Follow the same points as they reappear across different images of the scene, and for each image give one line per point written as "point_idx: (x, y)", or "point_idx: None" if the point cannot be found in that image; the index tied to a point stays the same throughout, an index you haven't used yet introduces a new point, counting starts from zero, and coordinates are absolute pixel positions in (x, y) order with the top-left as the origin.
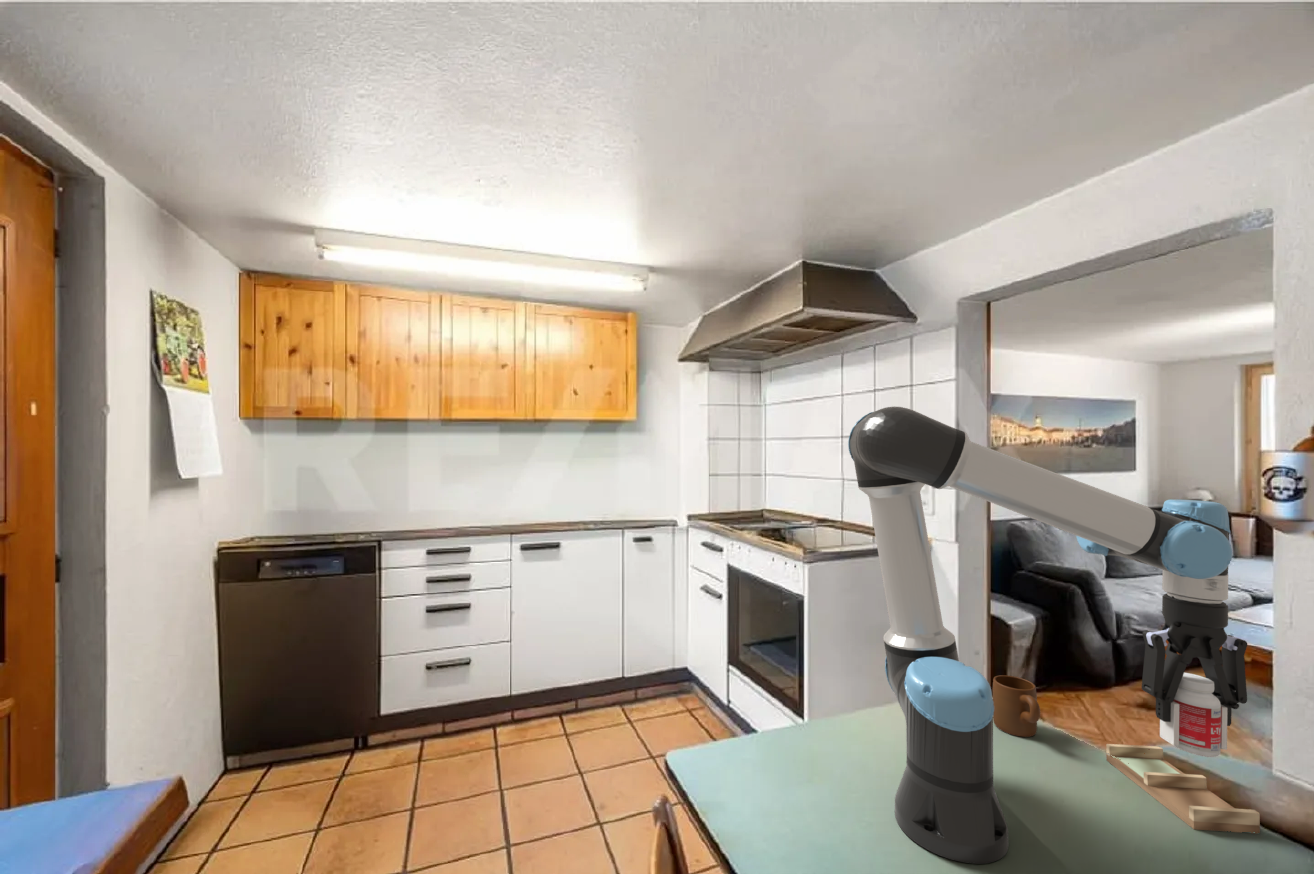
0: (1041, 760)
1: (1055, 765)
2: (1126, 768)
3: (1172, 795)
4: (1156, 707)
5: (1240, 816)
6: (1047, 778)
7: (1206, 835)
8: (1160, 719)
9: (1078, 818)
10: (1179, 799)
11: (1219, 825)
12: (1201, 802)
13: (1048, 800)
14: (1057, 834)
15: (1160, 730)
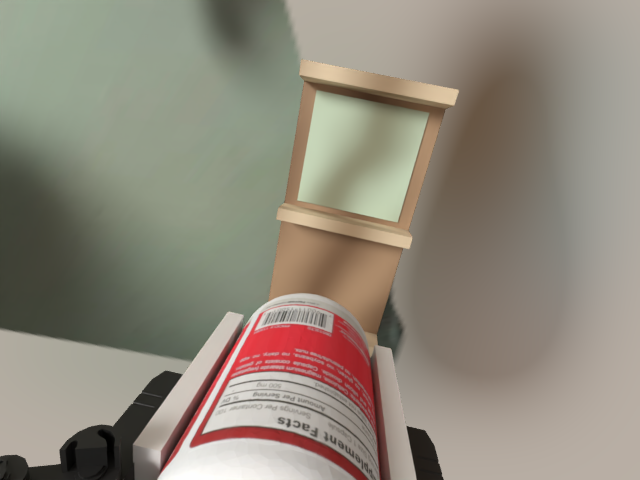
0: (140, 57)
1: (161, 84)
2: (296, 143)
3: (303, 249)
4: (129, 409)
5: None
6: (112, 136)
7: None
8: (200, 352)
9: (98, 258)
10: (304, 262)
11: None
12: (338, 277)
13: (74, 207)
14: (45, 285)
15: (218, 327)
